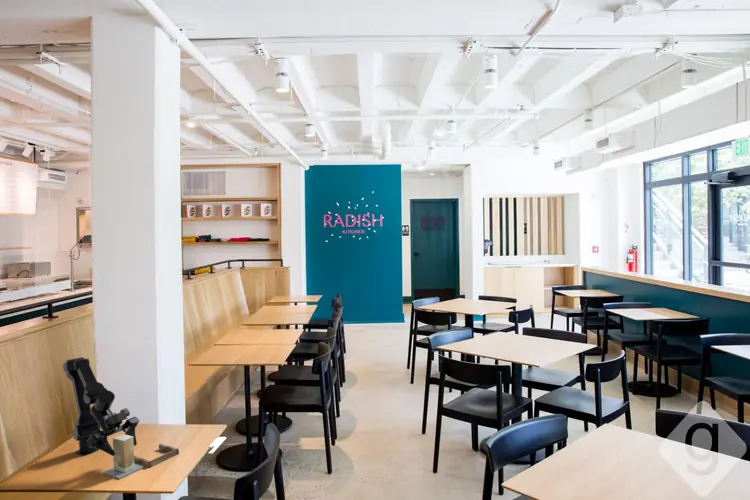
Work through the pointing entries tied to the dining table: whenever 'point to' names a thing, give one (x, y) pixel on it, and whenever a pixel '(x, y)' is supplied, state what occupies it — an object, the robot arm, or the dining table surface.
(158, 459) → the walnut cubby
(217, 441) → the white meat cleaver
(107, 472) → the slate coaster
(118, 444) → the skincare box
